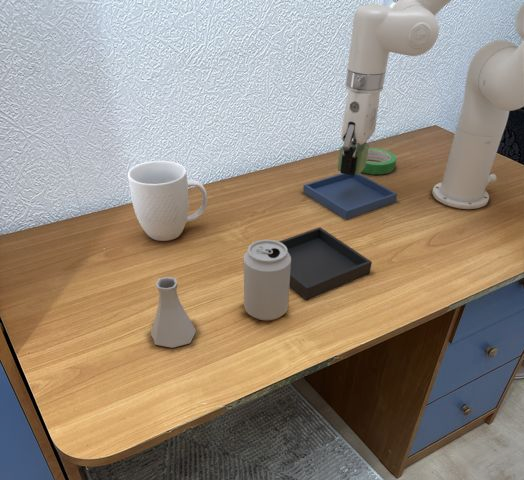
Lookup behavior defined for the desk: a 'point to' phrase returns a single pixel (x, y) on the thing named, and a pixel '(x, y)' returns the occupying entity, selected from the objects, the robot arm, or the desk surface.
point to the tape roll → (379, 167)
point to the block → (360, 155)
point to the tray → (349, 194)
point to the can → (266, 279)
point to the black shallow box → (322, 262)
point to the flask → (171, 317)
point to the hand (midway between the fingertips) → (351, 168)
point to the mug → (162, 198)
